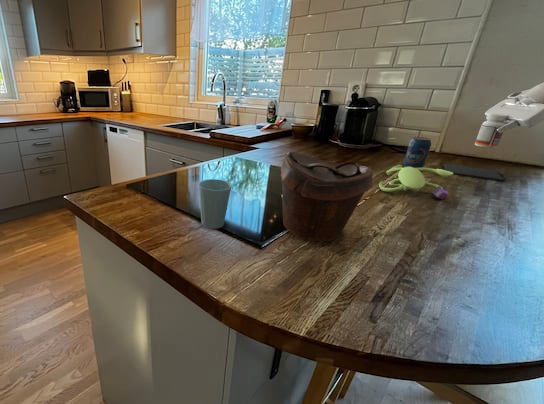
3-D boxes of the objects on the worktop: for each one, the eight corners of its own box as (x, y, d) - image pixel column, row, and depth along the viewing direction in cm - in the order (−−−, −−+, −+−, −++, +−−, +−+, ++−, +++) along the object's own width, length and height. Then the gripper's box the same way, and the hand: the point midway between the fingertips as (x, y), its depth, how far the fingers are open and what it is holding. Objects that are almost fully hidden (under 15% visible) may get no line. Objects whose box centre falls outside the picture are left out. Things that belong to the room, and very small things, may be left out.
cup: (202, 232, 69) (204, 191, 65) (193, 218, 76) (194, 180, 72) (232, 229, 71) (236, 188, 67) (221, 215, 78) (224, 178, 74)
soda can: (402, 167, 121) (411, 138, 117) (402, 164, 127) (411, 135, 122) (423, 171, 118) (433, 140, 113) (422, 167, 123) (432, 138, 118)
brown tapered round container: (377, 245, 65) (402, 167, 58) (292, 252, 62) (308, 170, 55) (328, 211, 81) (343, 146, 74) (259, 215, 78) (267, 148, 71)
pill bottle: (493, 145, 110) (506, 114, 106) (499, 149, 105) (513, 116, 101) (471, 143, 113) (483, 113, 108) (476, 147, 108) (489, 115, 103)
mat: (495, 172, 118) (495, 170, 118) (503, 181, 107) (504, 179, 107) (443, 165, 126) (444, 163, 126) (446, 173, 116) (447, 171, 116)
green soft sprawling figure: (448, 183, 105) (454, 167, 103) (449, 206, 86) (456, 188, 83) (387, 172, 115) (391, 158, 113) (375, 191, 96) (380, 174, 94)
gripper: (569, 112, 92) (516, 142, 98) (517, 106, 110) (476, 131, 116) (558, 96, 91) (506, 127, 97) (508, 93, 110) (467, 119, 115)
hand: (489, 129), depth 107 cm, fingers closed on pill bottle, 6 cm apart
